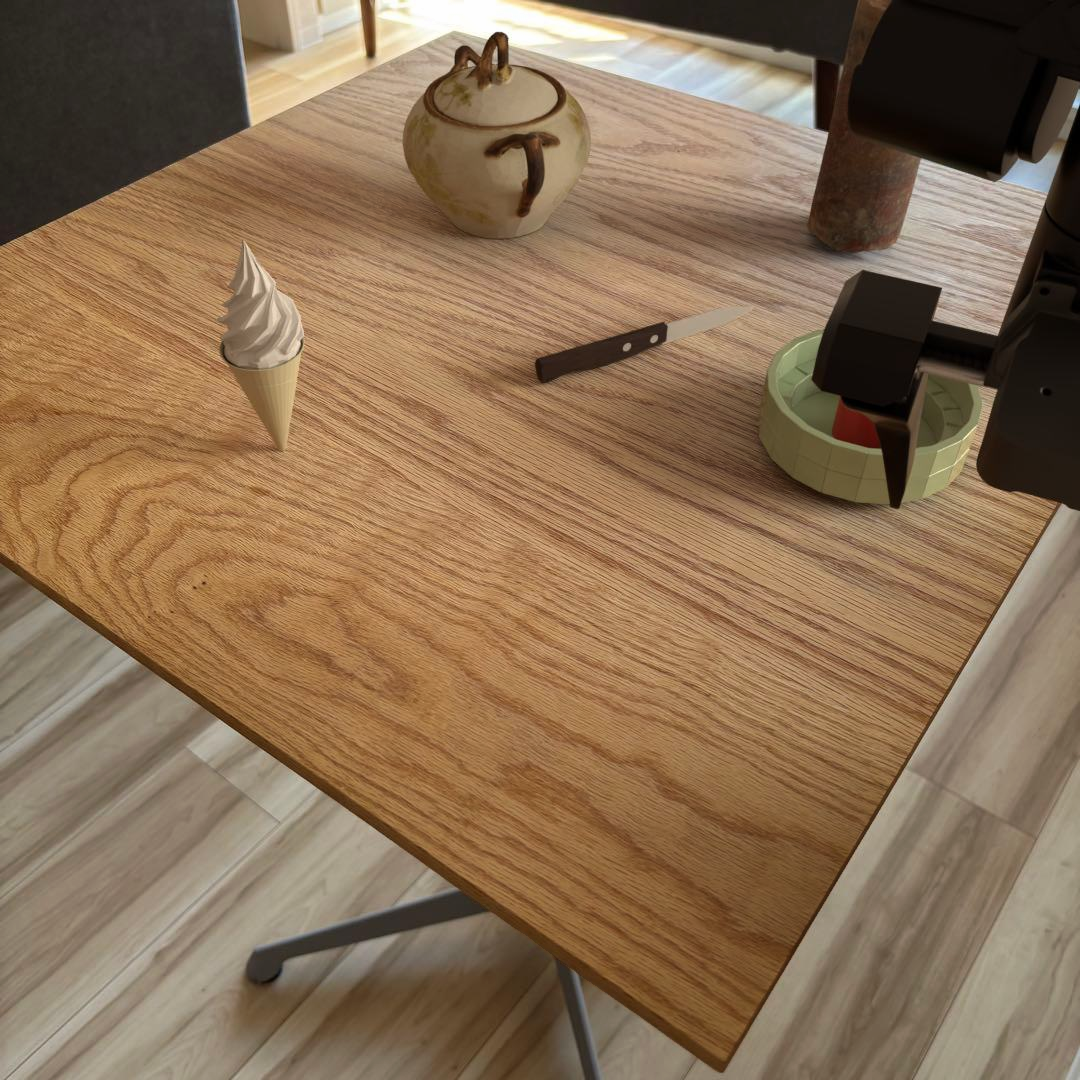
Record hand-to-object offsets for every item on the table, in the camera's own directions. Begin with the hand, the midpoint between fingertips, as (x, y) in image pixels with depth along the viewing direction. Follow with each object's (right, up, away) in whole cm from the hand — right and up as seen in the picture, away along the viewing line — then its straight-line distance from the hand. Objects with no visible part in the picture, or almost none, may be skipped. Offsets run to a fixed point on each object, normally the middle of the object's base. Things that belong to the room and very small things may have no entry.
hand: (998, 531), depth 51 cm
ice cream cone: (-37, +5, +22) cm, 44 cm away
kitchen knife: (-13, +13, +30) cm, 35 cm away
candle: (+5, +24, +41) cm, 48 cm away
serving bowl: (0, +6, +23) cm, 24 cm away
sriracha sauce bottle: (0, +6, +23) cm, 23 cm away
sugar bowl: (-24, +27, +44) cm, 57 cm away
